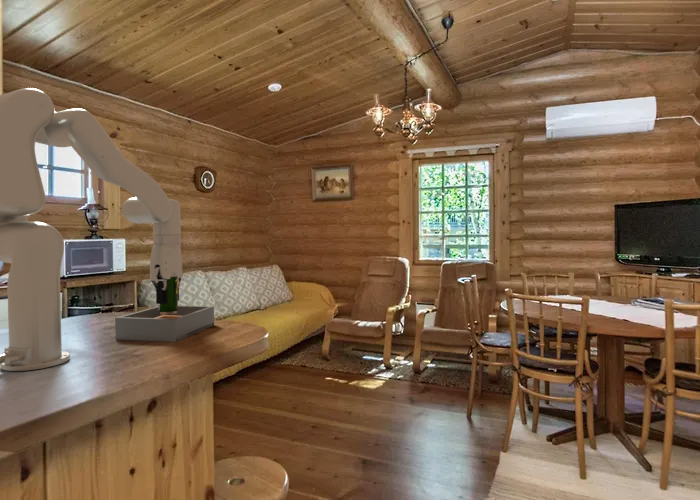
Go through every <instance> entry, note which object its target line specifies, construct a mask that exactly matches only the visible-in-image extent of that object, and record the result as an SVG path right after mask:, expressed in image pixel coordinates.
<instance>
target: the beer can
mask: <svg viewBox="0 0 700 500" xmlns="http://www.w3.org/2000/svg"><path fill="white" fill-rule="evenodd" d="M172 274H173V275H172V276H171V278H170V279H169V280H167V285H166V290H167V304H157V306H158V312H159V314H162V315H168V314H175V313H177V311H178V306H179V301H178V288H179V287H178V276H177V273H172ZM160 279H163V278H160ZM161 283H162V284H163V282H161Z"/></svg>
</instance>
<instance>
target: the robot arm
mask: <svg viewBox="0 0 700 500" xmlns="http://www.w3.org/2000/svg"><path fill="white" fill-rule="evenodd" d="M36 143H38V144H41V145H45V146H51V147H56V148H68V147H72V149H73V150H74V151H75V152H76V153H77V155H78V156H79V157H80V158H81V160H82V161H83V162H84V164H86V166H87V167H88V168H89V170H90V171H91V172H92V174H93V175H94V176H95V177H97V178H98V179H100V180H102V181H105V182H106V183H109V184H112V185H115V186H118V187H120V188H122V189H124V190H126V191H127V192H129V193H131V194H132V195H133V196H134V197H133V196H132V197H130V198H128V199H127V200H125V201H124V202H123V204H122V206H121V214H122V215H123V218H124V219H126V220H127V221H129V222H130V223H133V224H152V241H153V242H152V247H151V252H150V253H151V254H150V260H149V261H150V263H149V278H150V282H151V283H152V285H153V286H154V290H155V293H156V294H155V297H156V299H155V300H156V302H155V303H156V304H157V305H158V304H167V290H166V285H167V280H169V279H170V278H171V276H172V275H173V274H172V273H177V276H178V302H179V301H180V286H181V284H180V283H181V281H182V278H183V277H184V274H183V258H182V248H181V245H182V240H181V239H182V237H181V236H182V235H181V234H182V232H181V231H182V230H181V203H180V201H179V200H177V199H174V198H173V199H172V198H169V197H168V196H167V193H166V192H165V191H164V190H163V188H162V187H161V186H160V184H159V183H158V181H156V179H154V178H153V177H152V176H151V175H149V174H148V173H147V172H146V171H144V170H143V169H141V168H140V167H139V166H138V165H136V164H134V163H133V162H131V161H130V160H128V158H126V157H125V156H124V154H123V153H122V152H121V150H120V149H119V147H117V145H116V144H115V142H114V141H113V140H112V138H111V137H110V135H109V134H108V133H107V131H106V130H105V128H104V127H103V126H102V124H101V123H100V122H99V121H98V119H97V118H96V117H95V116H94V115H93V114H92V113H91V112H90V111H88V110H86V109H83V108H70V109H65V110H60V111H55V106H54V101H53V100H52V98H51V97H50V96H49V95H48V94H47V93H45V92H44V91H43V90H40V89H37V88H33V87H32V88H31V87H30V88H29V87H27V88H26V87H25V88H20V89H16V90H12V91H10V92H7V93H3V94H0V262H2V263H5V264H10V268H9V271H8V277H7V285H6V287H7V292H6V293H7V316H8V321H7V322H8V347H4V352H3V353H1V354H0V369H1V370H3V371H6V372H7V371H8V372H23V371H25V372H26V371H34V370H40V369H45V368H50V367H55V366H58V365H61V364H64V363H66V362H67V361H69V360H70V357H71V353H70V352H67V351H64V350H63V349H62V348H63V347H62V308H61V307H62V306H61V305H62V302H61V301H62V299H61V297H62V296H61V271H62V262H63V258H64V253H65V252H64V250H65V243H64V238H63V236H62V234H61V233H60V232H59V230H58V229H57V228H56V227H54V226H53V225H51V224H49V223H45V222H41V221H29V219H28V216H31V215H36V214H38V213H39V212H40V211H42V210H43V209H44V207H45V205H46V200H47V199H46V193H45V188H44V185H43V180H42V177H41V173H40V169H39V165H38V161H37V157H36V156H37V155H36V150H35V149H36ZM160 278H163V279H160ZM161 282H163V284H162V283H161Z"/></svg>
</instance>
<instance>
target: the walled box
mask: <svg viewBox="0 0 700 500" xmlns="http://www.w3.org/2000/svg"><path fill="white" fill-rule="evenodd" d="M114 322H115V323H114V325H115V328H114V329H115V331H114V332H115V340H117V341H118V340H122V341H123V340H124V341H142V342H143V341H145V342H165V343H166V342H170V343H172V342H173V343H177V342H179V341H181V340H183V339H186V338H189V337H191V336H193V335H195V334H199V333H200V332H202V331H205V330H206V329H208V328H211V327H214V326H215V306H208V305H206V306H205V305H204V306H203V305H178V311H177V313H175V314H168V315H162V314H159V312H158V305H157V306H153V307H149V308H147V309H143V310H139V311H136V312H131V313H128V314H124V315H120V316H116V317H115V318H114ZM213 325H214V326H213Z"/></svg>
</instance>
